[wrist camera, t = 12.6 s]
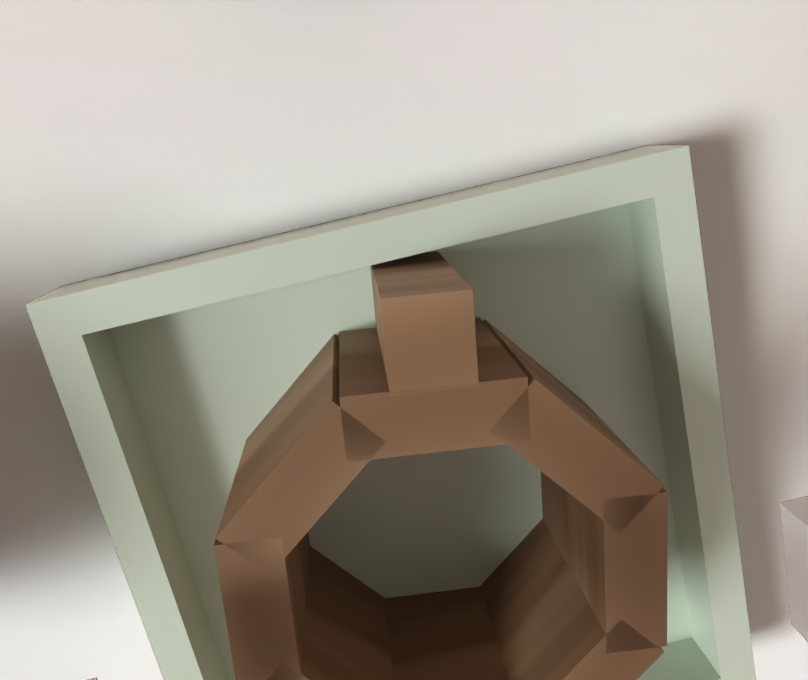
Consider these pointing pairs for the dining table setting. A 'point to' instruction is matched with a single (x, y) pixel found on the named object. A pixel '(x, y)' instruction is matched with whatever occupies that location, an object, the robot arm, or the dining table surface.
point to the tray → (423, 473)
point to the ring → (428, 433)
